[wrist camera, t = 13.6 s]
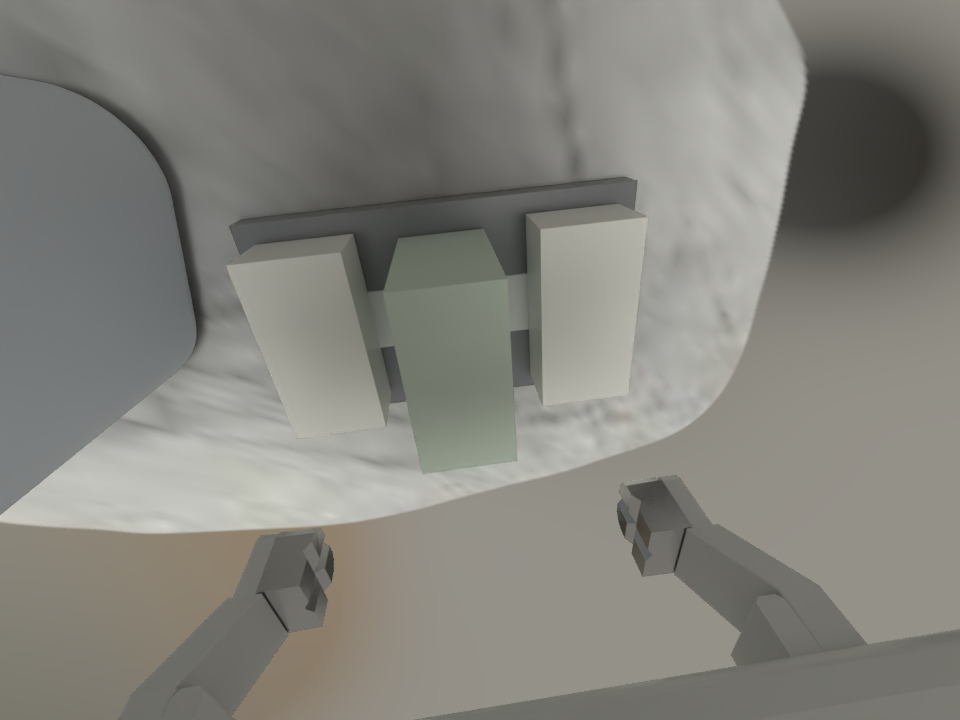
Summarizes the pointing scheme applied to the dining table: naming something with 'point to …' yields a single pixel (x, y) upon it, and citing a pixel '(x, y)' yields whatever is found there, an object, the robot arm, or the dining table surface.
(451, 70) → the dining table surface
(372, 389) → the board
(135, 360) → the plastic bottle
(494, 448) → the block
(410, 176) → the dining table surface
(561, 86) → the dining table surface
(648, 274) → the dining table surface
